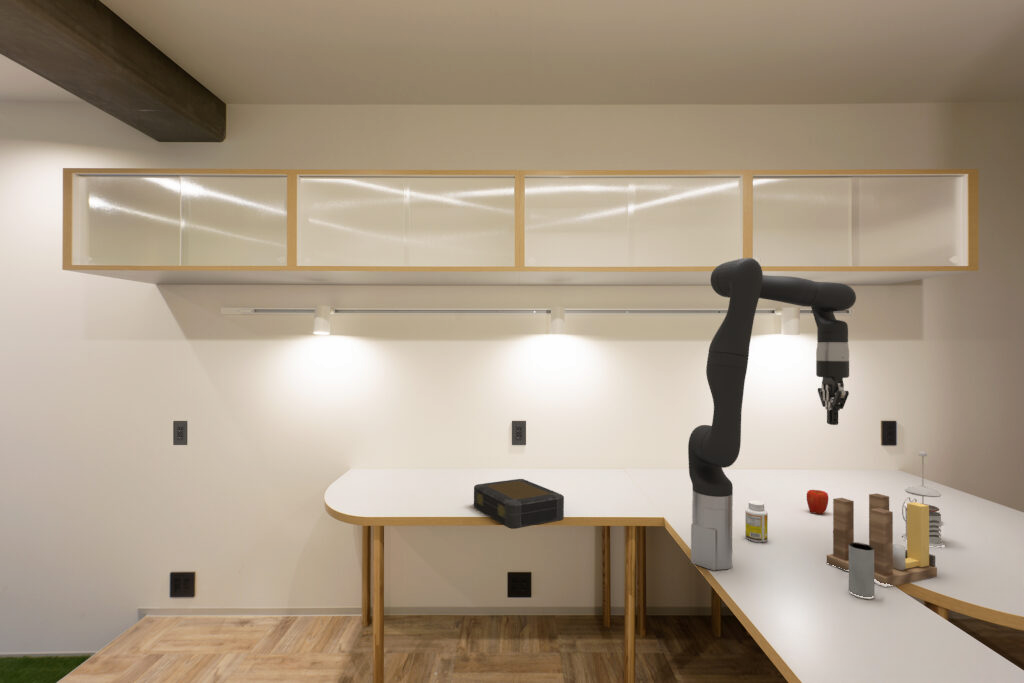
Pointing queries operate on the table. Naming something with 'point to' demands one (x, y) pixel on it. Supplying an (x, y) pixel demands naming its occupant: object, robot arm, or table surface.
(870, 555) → the grey tube
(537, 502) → the black carrying case
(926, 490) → the french press
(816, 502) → the apple
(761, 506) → the supplement bottle
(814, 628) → the table surface
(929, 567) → the wooden pillar stand
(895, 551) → the hinged leg
